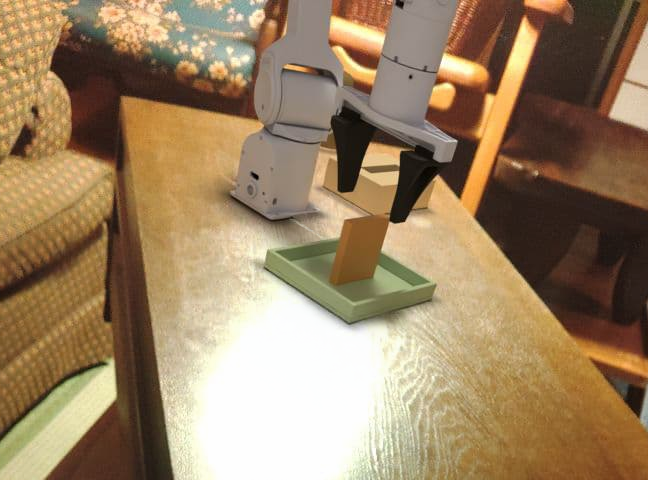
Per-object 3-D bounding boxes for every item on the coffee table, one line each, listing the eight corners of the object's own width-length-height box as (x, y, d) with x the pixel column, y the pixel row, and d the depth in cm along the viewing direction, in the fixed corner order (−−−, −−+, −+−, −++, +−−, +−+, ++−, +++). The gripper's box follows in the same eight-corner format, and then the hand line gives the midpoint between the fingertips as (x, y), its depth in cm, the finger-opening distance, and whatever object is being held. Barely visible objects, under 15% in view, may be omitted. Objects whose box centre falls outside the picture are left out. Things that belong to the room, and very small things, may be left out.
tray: (349, 323, 78) (354, 305, 76) (263, 266, 83) (266, 249, 81) (431, 299, 88) (437, 283, 86) (351, 250, 93) (355, 234, 91)
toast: (335, 286, 82) (351, 223, 78) (328, 281, 83) (344, 219, 78) (373, 277, 87) (390, 217, 82) (366, 272, 87) (383, 213, 83)
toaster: (372, 219, 103) (381, 185, 100) (321, 189, 106) (328, 156, 104) (429, 210, 112) (439, 179, 109) (380, 183, 116) (388, 152, 113)
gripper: (491, 90, 70) (443, 231, 79) (379, 38, 76) (346, 176, 85) (450, 89, 66) (404, 239, 75) (334, 34, 71) (304, 180, 80)
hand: (370, 206), depth 79 cm, fingers open, 7 cm apart
